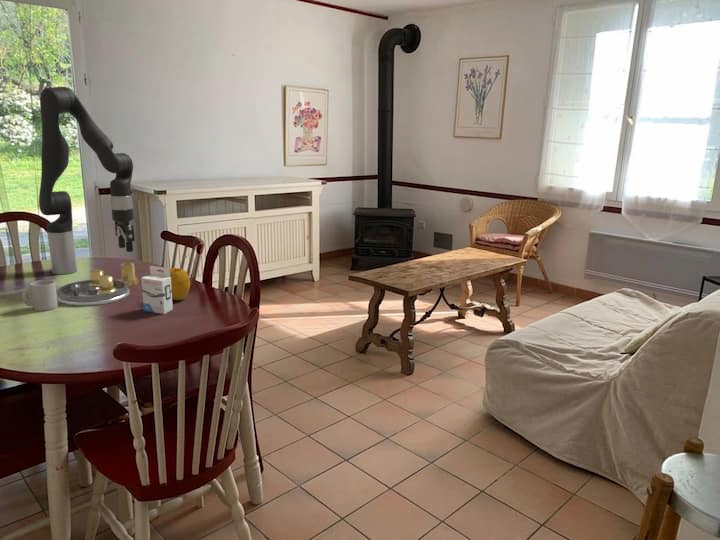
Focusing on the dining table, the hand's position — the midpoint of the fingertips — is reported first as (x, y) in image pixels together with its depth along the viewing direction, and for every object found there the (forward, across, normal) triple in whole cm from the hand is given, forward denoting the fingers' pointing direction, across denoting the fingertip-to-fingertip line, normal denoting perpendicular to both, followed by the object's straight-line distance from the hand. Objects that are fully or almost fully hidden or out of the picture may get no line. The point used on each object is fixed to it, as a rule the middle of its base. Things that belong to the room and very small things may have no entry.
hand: (126, 249), depth 210 cm
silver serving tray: (+14, +8, -15) cm, 22 cm away
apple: (+14, +29, +7) cm, 33 cm away
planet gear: (+14, 0, 0) cm, 14 cm away
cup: (+14, +12, -33) cm, 38 cm away
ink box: (+14, +37, -3) cm, 40 cm away
